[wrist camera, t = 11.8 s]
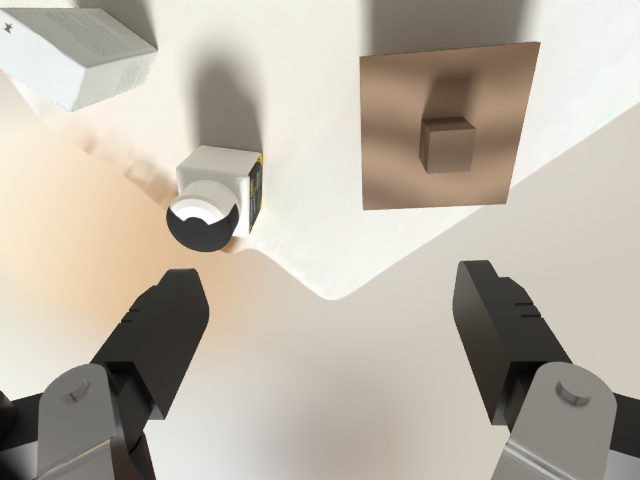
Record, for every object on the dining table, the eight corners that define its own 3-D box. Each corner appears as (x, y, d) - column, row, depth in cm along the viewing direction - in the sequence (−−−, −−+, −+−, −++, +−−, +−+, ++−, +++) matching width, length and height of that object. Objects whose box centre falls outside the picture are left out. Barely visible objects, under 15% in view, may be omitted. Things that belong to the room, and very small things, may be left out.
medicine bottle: (261, 208, 44) (236, 265, 34) (204, 200, 44) (161, 256, 34) (263, 152, 40) (235, 198, 30) (200, 143, 40) (151, 187, 30)
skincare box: (87, 47, 35) (-15, 61, 25) (101, 7, 33) (-5, 3, 23) (144, 87, 37) (70, 115, 27) (161, 51, 35) (86, 65, 25)
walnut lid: (359, 56, 30) (361, 63, 26) (534, 41, 29) (567, 46, 24) (362, 205, 37) (364, 230, 33) (502, 199, 36) (522, 223, 32)
